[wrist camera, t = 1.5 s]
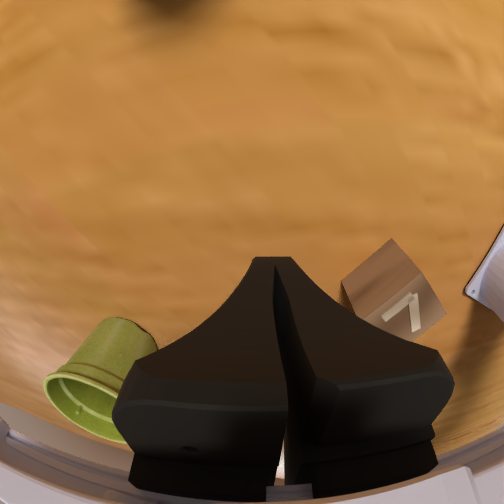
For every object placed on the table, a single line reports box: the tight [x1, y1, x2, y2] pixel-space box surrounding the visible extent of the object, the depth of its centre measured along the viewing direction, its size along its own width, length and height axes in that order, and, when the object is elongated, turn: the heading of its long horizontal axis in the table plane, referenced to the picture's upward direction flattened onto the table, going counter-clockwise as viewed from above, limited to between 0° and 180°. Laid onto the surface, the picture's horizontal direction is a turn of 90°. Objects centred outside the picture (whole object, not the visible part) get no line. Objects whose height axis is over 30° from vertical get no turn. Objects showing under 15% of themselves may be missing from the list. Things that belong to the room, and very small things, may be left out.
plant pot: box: [43, 318, 157, 444], centre depth 21 cm, size 9×9×9 cm
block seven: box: [341, 238, 447, 342], centre depth 19 cm, size 5×5×5 cm
